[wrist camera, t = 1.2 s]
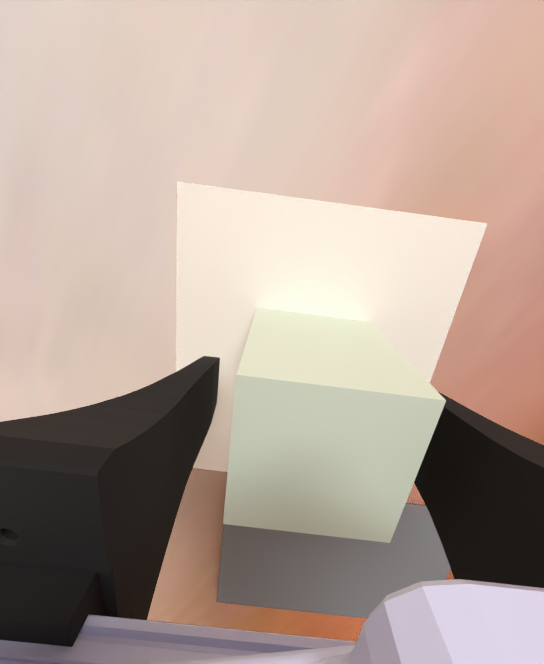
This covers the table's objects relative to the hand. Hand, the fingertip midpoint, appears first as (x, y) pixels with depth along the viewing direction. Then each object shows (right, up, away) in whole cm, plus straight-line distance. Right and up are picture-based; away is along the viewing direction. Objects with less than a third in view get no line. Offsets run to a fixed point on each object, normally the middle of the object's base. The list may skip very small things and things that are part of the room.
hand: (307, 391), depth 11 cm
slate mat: (+2, -12, +7) cm, 14 cm away
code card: (0, +1, +2) cm, 2 cm away
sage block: (0, +1, +2) cm, 2 cm away
